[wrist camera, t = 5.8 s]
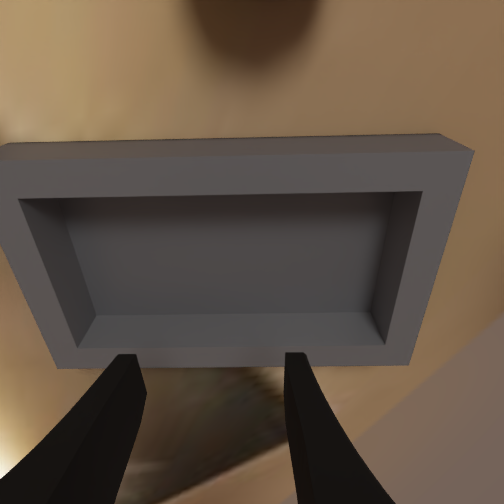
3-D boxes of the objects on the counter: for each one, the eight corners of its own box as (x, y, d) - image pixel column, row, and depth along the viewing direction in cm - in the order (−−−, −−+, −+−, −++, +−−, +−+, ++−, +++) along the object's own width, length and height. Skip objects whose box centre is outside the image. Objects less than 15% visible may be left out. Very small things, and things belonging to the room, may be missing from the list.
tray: (439, 133, 16) (474, 150, 13) (390, 327, 22) (408, 365, 19) (8, 142, 16) (-38, 161, 14) (80, 331, 22) (57, 368, 20)
